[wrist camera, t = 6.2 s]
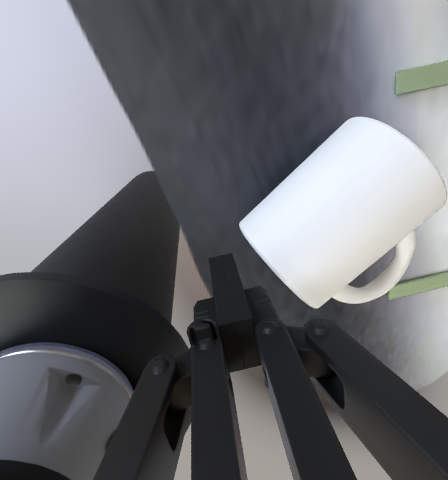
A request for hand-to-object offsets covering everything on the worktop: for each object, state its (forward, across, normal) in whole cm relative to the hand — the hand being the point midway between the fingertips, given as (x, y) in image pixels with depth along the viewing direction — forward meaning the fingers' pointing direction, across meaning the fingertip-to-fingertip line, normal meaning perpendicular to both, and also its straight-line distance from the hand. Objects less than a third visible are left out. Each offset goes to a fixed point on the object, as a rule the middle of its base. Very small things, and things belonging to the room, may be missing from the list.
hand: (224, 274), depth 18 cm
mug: (+6, +9, 0) cm, 11 cm away
